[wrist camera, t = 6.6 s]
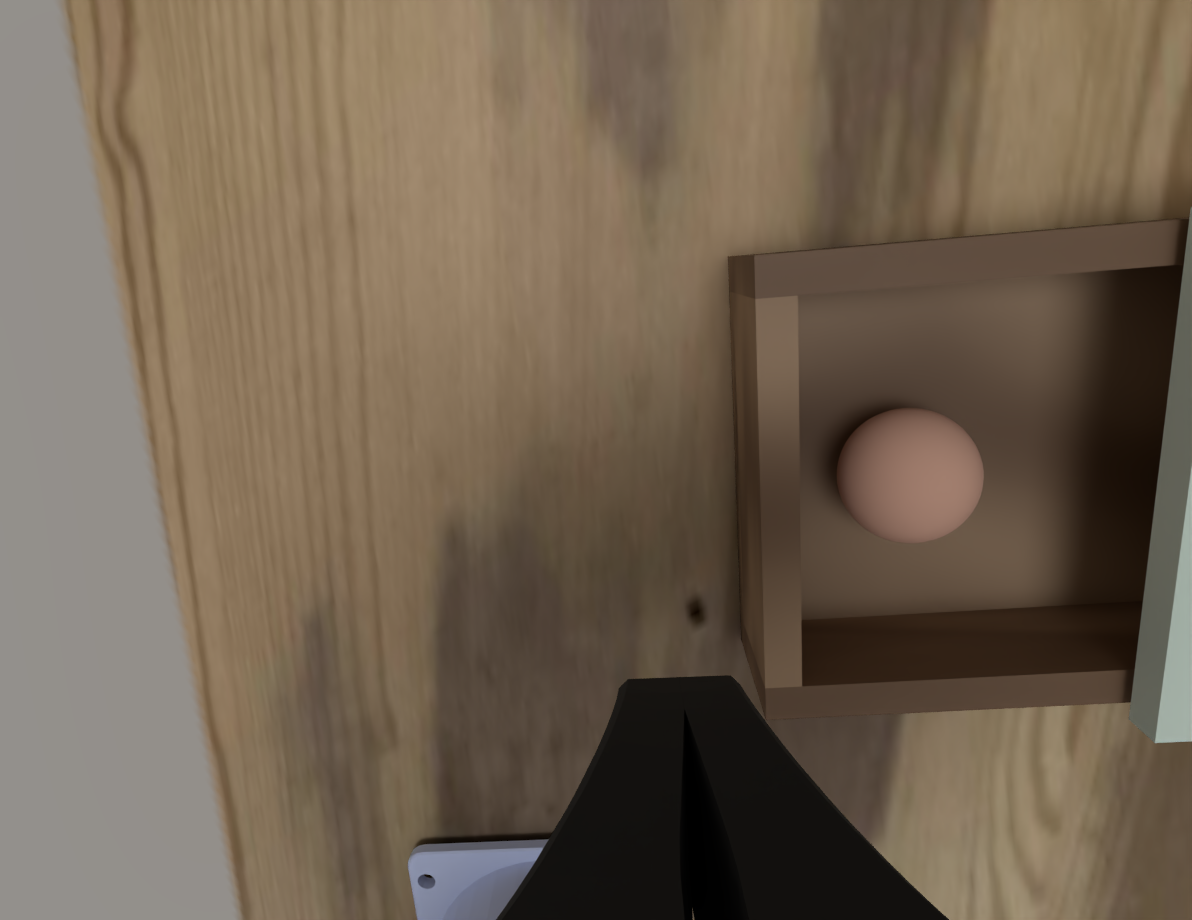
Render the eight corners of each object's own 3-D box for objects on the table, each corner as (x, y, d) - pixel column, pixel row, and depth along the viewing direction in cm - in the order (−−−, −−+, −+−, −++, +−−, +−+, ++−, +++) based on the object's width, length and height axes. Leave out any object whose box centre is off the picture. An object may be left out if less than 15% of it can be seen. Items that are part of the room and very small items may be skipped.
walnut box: (1204, 613, 19) (1333, 691, 16) (741, 639, 20) (765, 719, 16) (1263, 211, 17) (1433, 197, 13) (728, 256, 17) (754, 255, 14)
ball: (945, 512, 18) (1006, 560, 15) (821, 520, 18) (859, 569, 15) (950, 392, 17) (1015, 418, 14) (821, 401, 17) (860, 429, 15)
